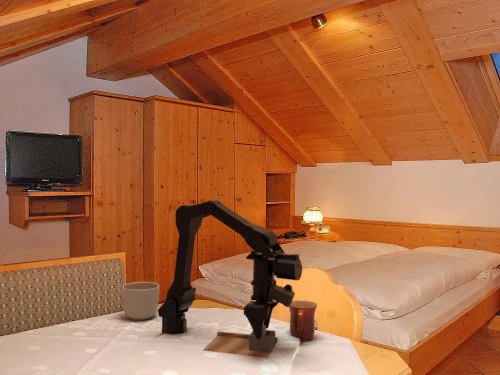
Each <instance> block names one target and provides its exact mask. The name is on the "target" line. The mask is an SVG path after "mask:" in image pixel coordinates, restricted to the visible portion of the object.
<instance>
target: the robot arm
mask: <svg viewBox="0 0 500 375" xmlns="http://www.w3.org/2000/svg"><path fill="white" fill-rule="evenodd" d="M174 215H175V216H174V218H175V221H174V222H175V227H176V229H177V233H178V238H177V249H176V258H175V267H174V275H173V281H172V283H171V285H170V286H169V288H168V290H167V293H166V297H165V300H164V302H163V303H162V304H161V306H160V307H159V308H157V313H158V316H159V317H160V318H161V333H160V334H159V336H161V335H163V334H168V335H176V334H185V333H186V332H187V323H188V321H187V318H186V313H188V312H189V310H190V307H192V305H193V303H194V302H195V301H196V291H197V288H196V287H193V285H192V283H191V275H192V266H193V260H194V259H193V258H194V250H195V241H196V235H197V233H198V231H199V230H200V228H201V226H202V223H203V219H204V218H207V217H210V216H212V217H213V218H214V219H217V221H219V222H220V223H222V224H223V225H225V226H226V227H228V228H229V229H231V230H232V231H234V232H236V233H237V234H238V235H240V236H241V237H242V238H243V240H244V243H245V244H247V245H248V246H249V247H250V248H251V249H252V250H251V251H250V253H249V254H248V255H247V256H246V257H245V259H247V260H251V261H253V263H252V264H253V265H252V266H253V267H252V278H253V279H251V281H250V285H251V286H252V294H251V295H250V301H249V302H248V303H247V304H246V305H245V306H244V307H243V315H244V316H245V318H246V319H247V321H248V323H249V325H250V327H251V329H252V331H254V334H255V336H256V338H257V339H261V336H262V330H263V325H266V329H269V327H270V322H271V318H272V314H273V311H274V309H275V307H276V306H278V305H279V304H280V305H283V306H284V307H287V308H289V306H290V305H291V303H292V301H294V300H293V299H294V298H295V295H296V293H295V291H294V290H293V285H292V284H289V283H287V284H285V285H284V286H282V285H281V286H280V285H278V284H277V280H276V278H277V279H282V280H290V281H292V280H293V281H300V279H301V277H302V273H303V265H302V261H301V259H300V254H299V253H292V254H291V253H285V251H284V249H283V247H282V246H281V245H280V243H279V242H278V237H277V234H276V232H275V231H273V230H271V229H268V228H266V227H264V226H261V225H257V224H254V223H252V222H250V221H249V220H247V219H246V218H244V217H243V216H241V215H239V214H238V213H236V211H234V210H232V209H231V208H229V207H228V206H226V204H223V203H222V202H221V201H220V200H217V199H213V200H207V201H205V202H201V203H198V204H197V203H196V204H181V205H180V206H179V207H177V208H176V210H175V214H174ZM275 276H276V278H275Z"/></svg>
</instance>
